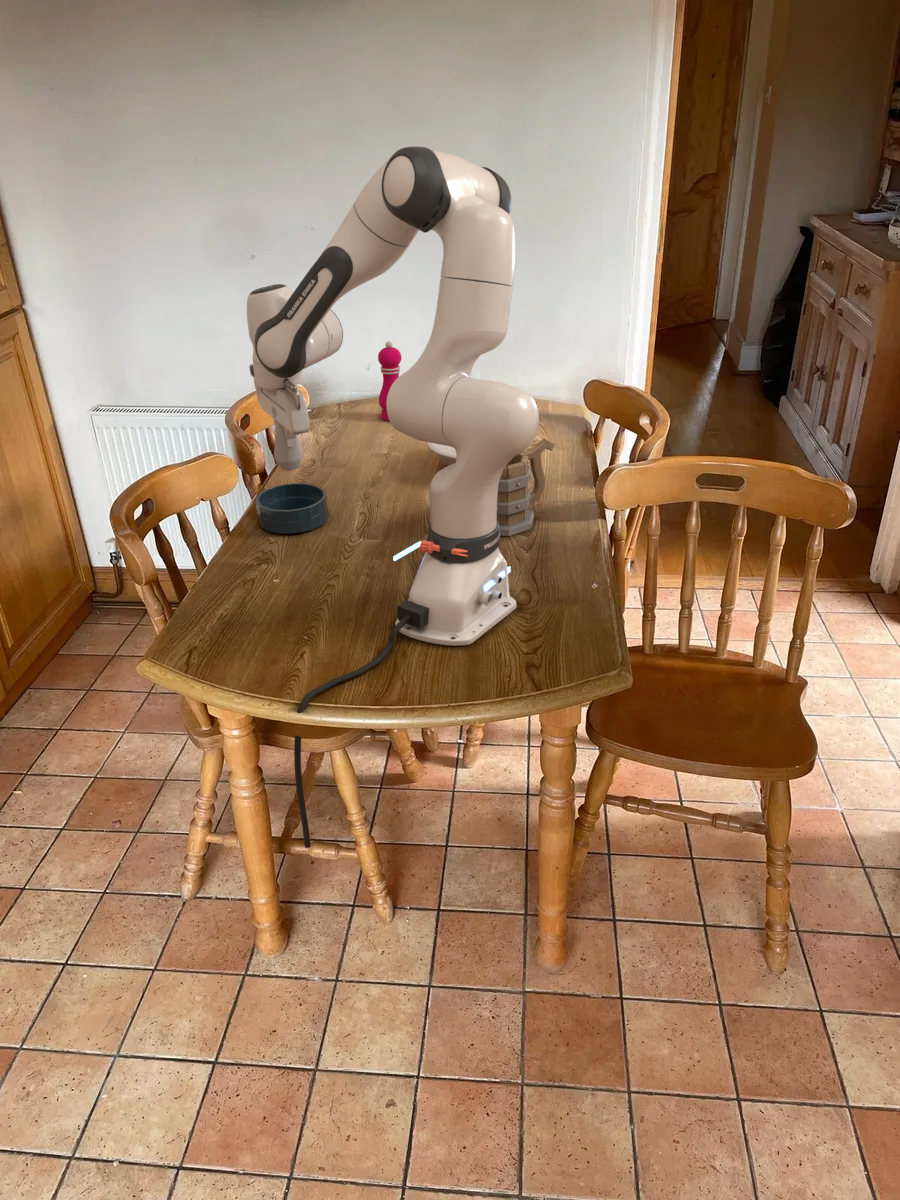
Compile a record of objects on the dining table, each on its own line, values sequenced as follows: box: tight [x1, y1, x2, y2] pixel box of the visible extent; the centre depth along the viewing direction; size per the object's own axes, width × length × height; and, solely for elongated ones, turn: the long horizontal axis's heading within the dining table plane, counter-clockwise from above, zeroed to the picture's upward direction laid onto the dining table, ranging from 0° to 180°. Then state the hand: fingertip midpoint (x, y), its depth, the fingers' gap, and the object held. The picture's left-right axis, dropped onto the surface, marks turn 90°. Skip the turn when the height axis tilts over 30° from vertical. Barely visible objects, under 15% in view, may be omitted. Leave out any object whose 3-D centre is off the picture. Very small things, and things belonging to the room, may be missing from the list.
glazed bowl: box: [255, 482, 330, 534], centre depth 190 cm, size 14×14×6 cm
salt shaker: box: [272, 407, 304, 471], centre depth 182 cm, size 6×6×13 cm
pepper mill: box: [377, 340, 402, 422], centre depth 240 cm, size 7×7×20 cm
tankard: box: [497, 438, 556, 537], centre depth 185 cm, size 20×13×15 cm, turn 123°
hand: (287, 442), depth 183 cm, fingers closed on salt shaker, 3 cm apart
